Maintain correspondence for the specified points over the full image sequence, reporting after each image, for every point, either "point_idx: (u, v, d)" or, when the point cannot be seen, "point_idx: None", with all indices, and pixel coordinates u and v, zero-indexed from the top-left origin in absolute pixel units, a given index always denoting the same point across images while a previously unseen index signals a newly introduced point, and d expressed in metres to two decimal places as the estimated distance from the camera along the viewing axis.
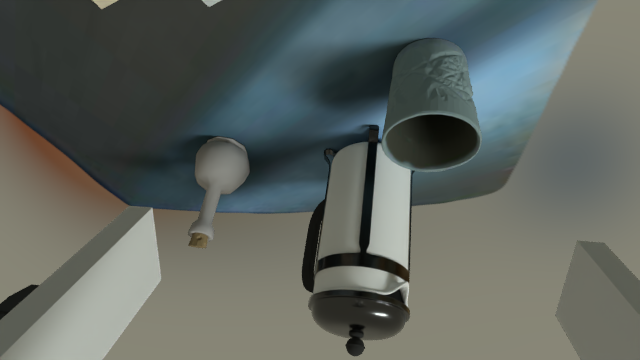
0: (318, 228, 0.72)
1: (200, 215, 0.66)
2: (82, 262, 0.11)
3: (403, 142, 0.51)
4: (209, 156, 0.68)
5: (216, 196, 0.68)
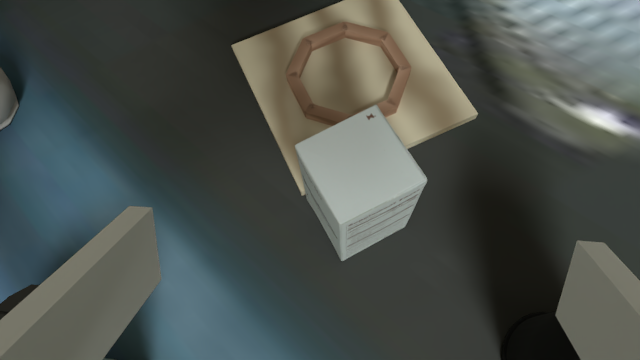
0: None
1: None
2: (82, 262, 0.11)
3: None
4: None
5: None
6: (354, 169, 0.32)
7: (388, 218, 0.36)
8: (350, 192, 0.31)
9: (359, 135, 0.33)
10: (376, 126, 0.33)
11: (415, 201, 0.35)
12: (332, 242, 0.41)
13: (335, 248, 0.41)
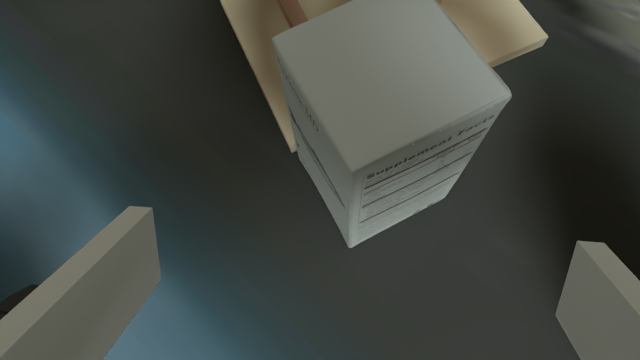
0: None
1: None
2: (82, 262, 0.11)
3: None
4: None
5: None
6: (378, 75, 0.18)
7: (430, 174, 0.21)
8: (370, 115, 0.17)
9: (386, 21, 0.19)
10: (416, 5, 0.19)
11: (476, 145, 0.21)
12: (335, 218, 0.26)
13: (340, 228, 0.27)
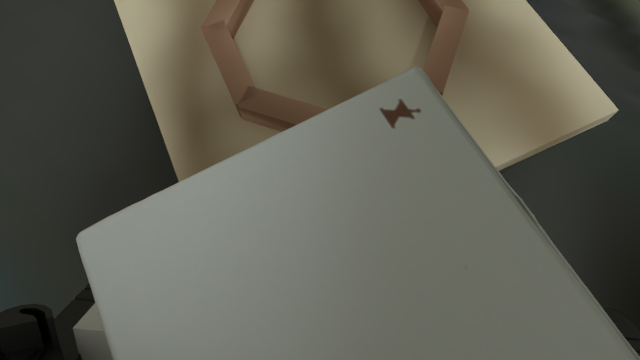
0: None
1: None
2: None
3: None
4: None
5: None
6: None
7: None
8: None
9: (353, 195, 0.08)
10: (426, 153, 0.08)
11: None
12: None
13: None
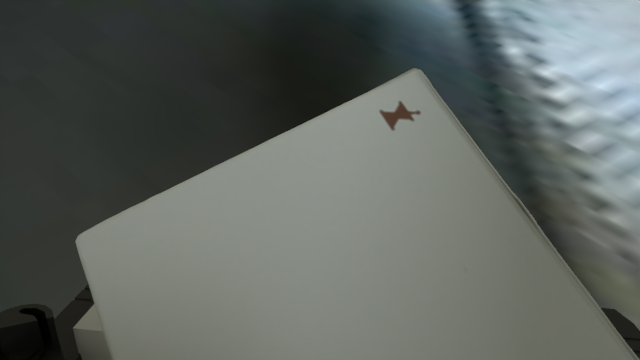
0: None
1: None
2: None
3: None
4: None
5: None
6: None
7: None
8: None
9: (352, 197, 0.08)
10: (426, 155, 0.08)
11: None
12: None
13: None
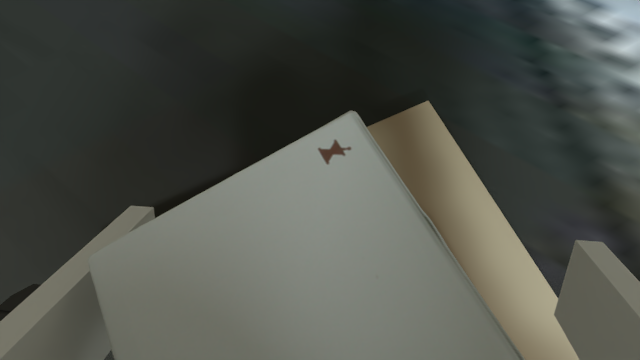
0: None
1: None
2: (84, 261, 0.11)
3: None
4: None
5: None
6: (263, 357, 0.09)
7: None
8: None
9: (292, 220, 0.10)
10: (352, 183, 0.10)
11: None
12: None
13: None
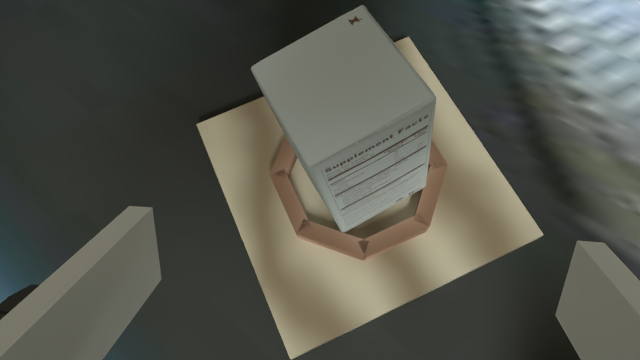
0: None
1: None
2: (82, 262, 0.11)
3: None
4: None
5: None
6: (330, 91, 0.22)
7: (391, 166, 0.26)
8: (323, 122, 0.22)
9: (338, 46, 0.23)
10: (363, 31, 0.23)
11: (427, 139, 0.25)
12: None
13: None
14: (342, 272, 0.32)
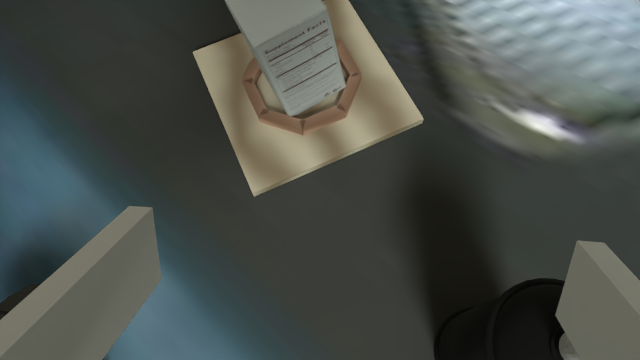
0: None
1: None
2: (82, 262, 0.11)
3: None
4: None
5: None
6: (267, 6, 0.38)
7: (311, 59, 0.42)
8: (263, 23, 0.38)
9: None
10: None
11: (331, 41, 0.41)
12: None
13: None
14: (288, 142, 0.48)
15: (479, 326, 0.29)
